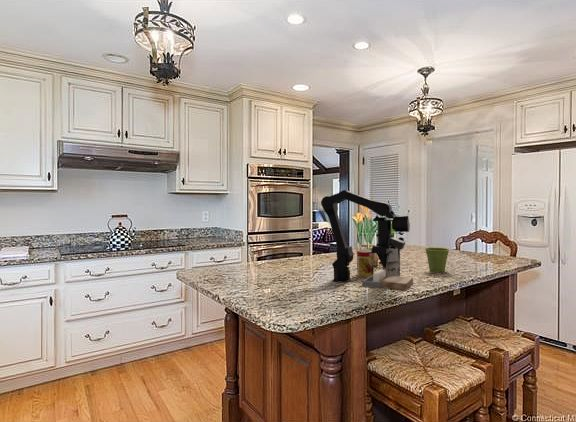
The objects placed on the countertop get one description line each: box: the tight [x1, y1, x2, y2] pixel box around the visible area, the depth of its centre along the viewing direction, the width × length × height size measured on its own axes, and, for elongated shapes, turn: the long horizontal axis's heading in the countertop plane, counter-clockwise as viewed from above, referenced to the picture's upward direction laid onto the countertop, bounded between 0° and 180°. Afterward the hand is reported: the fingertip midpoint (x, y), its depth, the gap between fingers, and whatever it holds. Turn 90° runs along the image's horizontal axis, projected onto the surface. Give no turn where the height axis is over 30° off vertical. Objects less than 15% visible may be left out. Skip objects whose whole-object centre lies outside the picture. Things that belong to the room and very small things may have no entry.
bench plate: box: [381, 276, 414, 291], centre depth 155 cm, size 10×13×2 cm
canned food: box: [356, 249, 375, 278], centre depth 177 cm, size 8×8×12 cm
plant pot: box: [424, 247, 451, 273], centre depth 185 cm, size 12×12×11 cm
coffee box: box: [382, 248, 401, 277], centre depth 176 cm, size 9×6×16 cm
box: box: [361, 275, 389, 289], centre depth 160 cm, size 8×15×2 cm, turn 149°
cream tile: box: [373, 269, 386, 283], centre depth 159 cm, size 5×10×2 cm
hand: (384, 267), depth 158 cm, fingers closed
